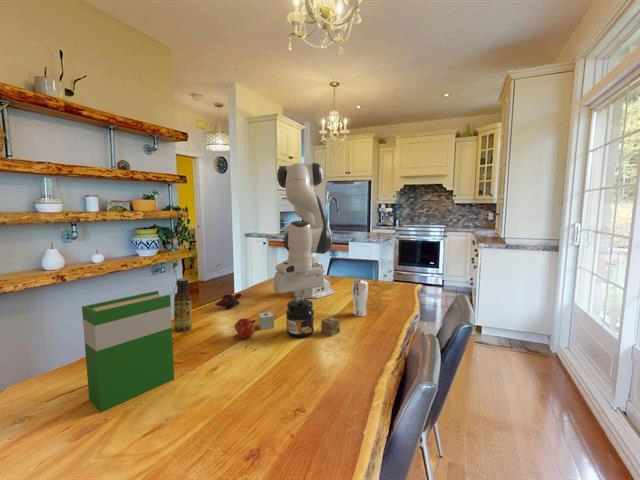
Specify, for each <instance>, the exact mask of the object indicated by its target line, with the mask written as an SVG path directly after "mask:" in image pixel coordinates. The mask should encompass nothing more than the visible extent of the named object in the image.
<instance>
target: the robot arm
mask: <svg viewBox="0 0 640 480" xmlns="http://www.w3.org/2000/svg"><path fill="white" fill-rule="evenodd" d="M323 179H324V170H323V167H322V166H321V164H320V163H318V162H312V163H308V162H307V163H304V162H302V163H301V162H300V163H297V162H296V163H293V164H290V165H283V166H280V167H278V169H277V173H276V180H277V182H278V185H279V186H280V187H281V188H282V189H285V197H286V199H287V201H288V202H289V203H290V204H291V205H293V207H294V208H293V209H294V213H295V215H296V216H297V217H299V218H300V219H302V220H294V221H291V222H290V223H289V224H287V226H286V227H285V230H284V249H286V250H287V252H288V253H287V254H288V255H287V259H286V260H285V261H282V262H280V263H278V264H276V265H275V270H276V272H275V273H274V276H273V290H274V292H275V293H277V294H280V295H281V294H287V293H292V294H293V295H294V298H295V299H294V300H295V301H296V302H300V301H304V299H321V298H324V297H327V296H330V295H335V292H336V291H335V290H334V289H332V288H331V283H330V281H329V280H327V279H326V278H325V276H324V273H325V270H324V265H323V264H321V263H320V262H318V261H319V256H318V254H319V255H320V254H321V255H322V254H323V255H324V254H326V253H328V252H329V251H330V250H331V249H332V244H333V239H332V231H331V228H330V226H329V225H328V223H327V219H326V216H325V212H324V209H323V205H322V201H321V199H320V197H319V195H316V194H315V189H314V187H317V186H319V185H320V184H321V183H322V182H323Z"/></svg>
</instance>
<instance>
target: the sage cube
mask: <svg viewBox="0 0 640 480" xmlns="http://www.w3.org/2000/svg"><path fill="white" fill-rule="evenodd" d="M257 316H258V327H259V329H260V330H261V331H263V330H269V329H274V328H275V316H274V314H273V313H272V312H270V311H268V312H262V313H261V312H260V313H258V315H257Z"/></svg>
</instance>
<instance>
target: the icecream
mask: <svg viewBox="0 0 640 480" xmlns="http://www.w3.org/2000/svg"><path fill="white" fill-rule="evenodd" d="M241 298H242V294H241V293H238V294H235V295H233V294H224V295H223V296H222V298H221V300H219V301H217V302H216V303H215V304H214V306H218V307H222V308H225V309H226V310H231V309H232V308H235V306H238V305H239V304H240V301H239V299H241Z"/></svg>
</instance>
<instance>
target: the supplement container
mask: <svg viewBox="0 0 640 480" xmlns="http://www.w3.org/2000/svg"><path fill="white" fill-rule="evenodd" d="M286 305H287V310H286V311H285V315H286V317H285V318H286V334H287V335H288V336H290V337H291V338H297V339H298V338H299V339H303V338H308V337H310V336H312V335H313V334H314V331H315V328H314V320H315V318H314V317H315V316H314V315H315V309H313V308H314V307H313V305H314V303H313V301H312V300H309V299H307V298H304V301H300V302H296V301H295V299H292V300H289V301H288V302H287V304H286Z"/></svg>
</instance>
